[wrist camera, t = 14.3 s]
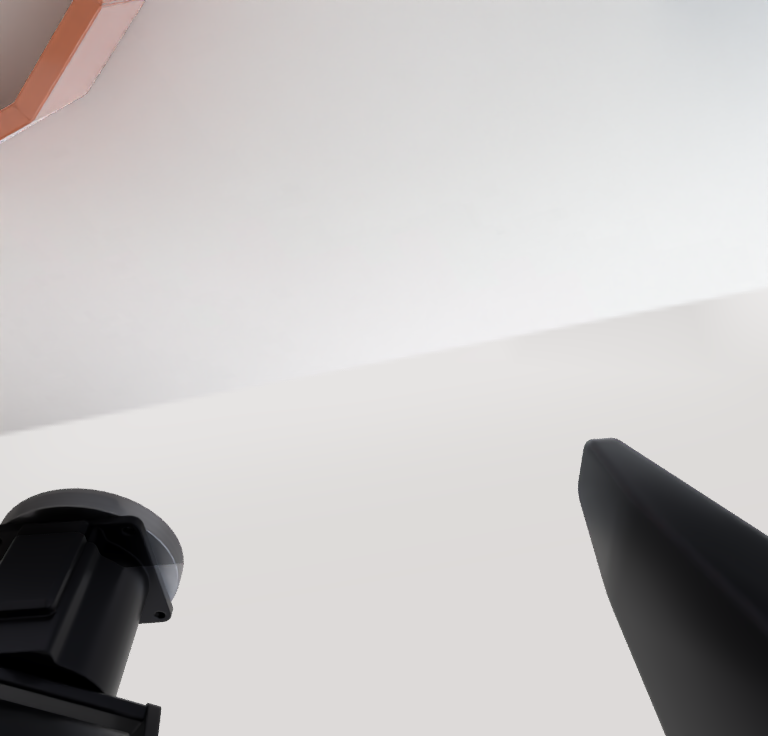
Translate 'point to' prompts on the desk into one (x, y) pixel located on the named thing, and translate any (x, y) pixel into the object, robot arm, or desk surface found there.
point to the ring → (69, 61)
